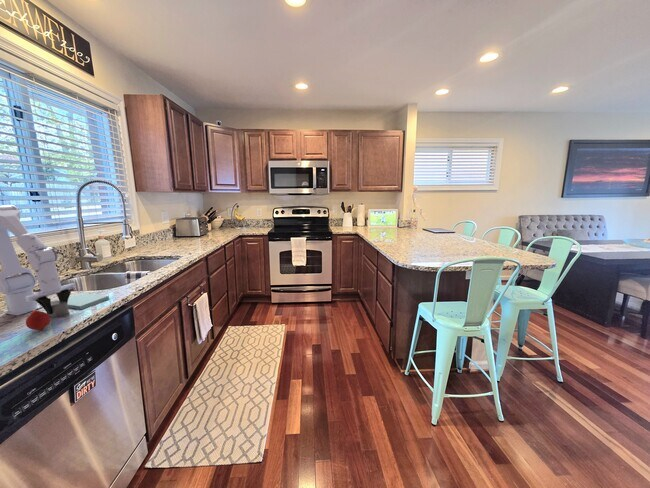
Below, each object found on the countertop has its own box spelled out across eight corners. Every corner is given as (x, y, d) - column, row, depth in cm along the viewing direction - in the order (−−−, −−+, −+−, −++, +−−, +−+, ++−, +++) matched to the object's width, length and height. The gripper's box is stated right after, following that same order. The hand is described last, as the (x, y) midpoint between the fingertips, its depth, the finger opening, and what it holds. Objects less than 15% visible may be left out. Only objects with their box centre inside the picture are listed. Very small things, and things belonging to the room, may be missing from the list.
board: (53, 305, 115) (53, 302, 115) (83, 295, 125) (82, 292, 125) (81, 309, 109) (80, 306, 109) (109, 298, 120) (108, 295, 119)
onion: (51, 324, 97) (46, 304, 95) (53, 329, 93) (47, 308, 92) (28, 331, 93) (22, 310, 91) (29, 336, 89) (22, 315, 87)
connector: (41, 315, 106) (38, 303, 105) (54, 310, 109) (51, 299, 108) (59, 318, 102) (56, 306, 101) (71, 313, 106) (68, 301, 105)
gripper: (29, 286, 94) (39, 321, 97) (77, 273, 108) (85, 304, 111) (18, 285, 97) (28, 319, 99) (66, 272, 110) (74, 303, 113)
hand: (57, 311), depth 105 cm, fingers closed on connector, 4 cm apart
